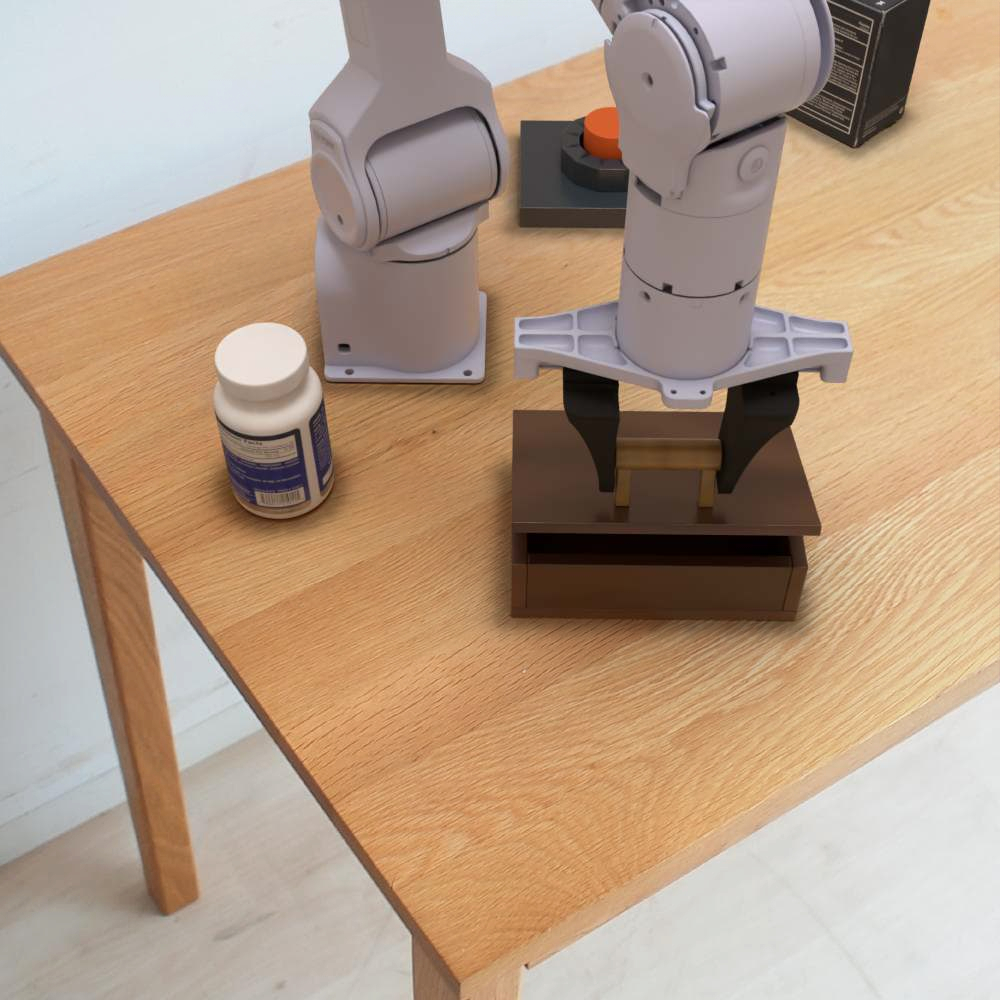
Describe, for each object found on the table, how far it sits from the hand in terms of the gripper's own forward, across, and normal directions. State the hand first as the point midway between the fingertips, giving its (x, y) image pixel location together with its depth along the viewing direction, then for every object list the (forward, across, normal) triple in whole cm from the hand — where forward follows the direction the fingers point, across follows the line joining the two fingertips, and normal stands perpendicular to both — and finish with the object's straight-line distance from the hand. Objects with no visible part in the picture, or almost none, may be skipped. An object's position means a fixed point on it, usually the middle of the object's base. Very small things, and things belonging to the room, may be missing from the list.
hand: (663, 477), depth 69 cm
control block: (+8, -1, +35) cm, 36 cm away
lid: (+3, 0, +3) cm, 4 cm away
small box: (+9, +15, +45) cm, 48 cm away
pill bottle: (+9, -20, +7) cm, 23 cm away
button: (+5, -1, +35) cm, 35 cm away
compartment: (+8, 0, +3) cm, 9 cm away
